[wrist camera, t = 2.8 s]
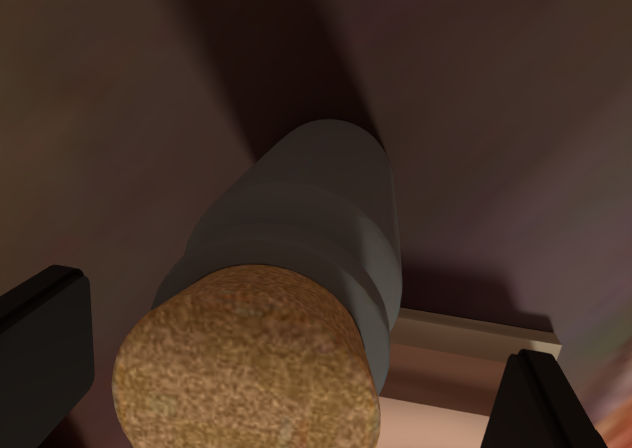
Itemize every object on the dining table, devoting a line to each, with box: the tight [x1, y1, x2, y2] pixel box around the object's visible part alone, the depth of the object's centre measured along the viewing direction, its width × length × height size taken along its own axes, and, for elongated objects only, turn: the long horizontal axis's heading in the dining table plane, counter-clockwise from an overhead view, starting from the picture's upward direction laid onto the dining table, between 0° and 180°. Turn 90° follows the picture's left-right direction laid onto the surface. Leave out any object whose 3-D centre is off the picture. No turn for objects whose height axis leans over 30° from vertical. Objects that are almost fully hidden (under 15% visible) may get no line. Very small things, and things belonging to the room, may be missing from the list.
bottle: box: [112, 119, 402, 448], centre depth 15 cm, size 6×6×15 cm
